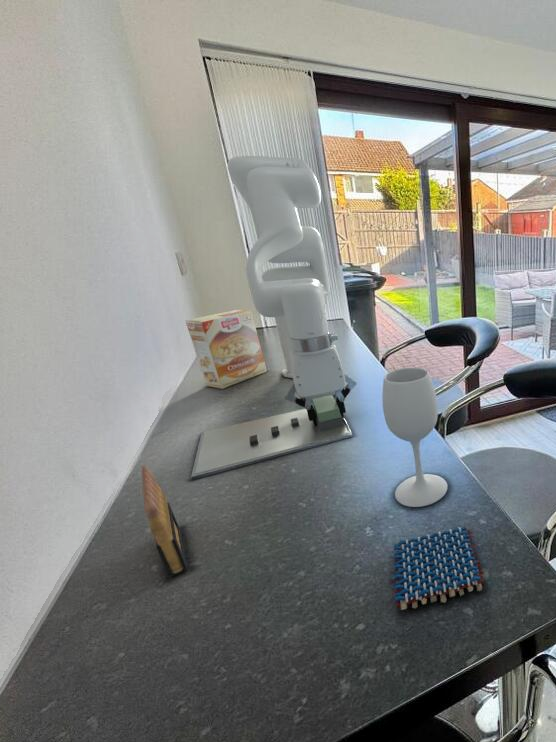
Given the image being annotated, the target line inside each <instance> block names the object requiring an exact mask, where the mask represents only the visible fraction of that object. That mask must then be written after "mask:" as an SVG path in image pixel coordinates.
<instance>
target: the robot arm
mask: <svg viewBox="0 0 556 742" xmlns="http://www.w3.org/2000/svg"><path fill="white" fill-rule="evenodd" d="M227 171H228V174H229V176H230V179H231V181H232V183H233V185H234V187H235V189H236V190H237V191H238V193H239V194H240V195H241V197H242V199H243V200H244V201H245V203H246V205H247V207H248V209H249V211H250V213H251V218H252V221H253V226H254V231H255V234H256V238H257V240H256V242H254V244H253V245H252V247H251V249H250V250H249V253H248V256H247V259H246V263H245V273H246V278H247V283H248V287H249V290H250V295H251V300H252V302H253V305H254V308H255V310H256V311H257V312H258V313H259V315H261V316H263V317H265V318H273V319H274V320H275V321H274V323H275V326H276V330H277V334H278V338H279V342H280V346H281V350H282V355H283V359H284V363H285V367H284V368H283V369H282V370H281V374H282V376H283V377H285V378H288V379H292V381H293V382H292V383H291V385H290V386H289V388H288V389H287V392H286V393H285V394H284V399H285V400H286V401H288V402H291V403H294V404H296V405H298V406H300V407H302V408H303V409H306V410H307V413H308V418H309V421H313V423H314V425H317V420H316V415H315V411H314V406H313V402H312V396H315V395H320V394H325V393H329V392H335V394H336V395H335V396H336V399H335V402H336V404H337V406H338V408H339V411H340V414H341V416H342V418H345V415H344V414H346V413H347V410H346V406H345V401H346V398H347V397H348V395H349V394H350V393H351V391H353V389H354V388H355V387H356V386H357V382H356V380H355V379H354V378H352V377H350V375H348V373H347V374H346V373H345V372H344V368H343V365H342V361H341V358H340V355H339V352H338V350H337V347H336V345H335V344H333V343H334V342H335V341H339V337H338V334H337V333H334V334H333V333H331V332H330V331H329V324H328V319H327V314H326V310H325V306H326V304H327V303H328V297H327V296H328V295H329V294H330V293H331V281H330V275H329V270H328V264H327V258H326V251H325V246H324V242H323V239H322V236H321V234H320V232H319V231H318V230H317V229H316V228H315V227H312V226H307V225H305V226H302V224H301V220H300V217H299V214H298V211H297V209H316V208H318V207H319V206H320V204H321V201H322V193H321V188H320V183H319V182H318V179H317V176H316V175H315V173H314V171H313V169H312V168H311V167H310V166H309V165H308V163H307V162H306V161H305V160H303V159H301V158H295V157H277V156H265V155H264V156H263V155H239V156H234V157H231V158H230V159H229V160H228V162H227ZM267 263H271V264H292V263H293V264H294V263H308V264H309V265H293V266H291V265H290V266H279V267H273V268H269V269H267V270H265V271H264V272H263V273H262V270H263V268H264V266H265V264H267ZM295 394H297V395H295Z"/></svg>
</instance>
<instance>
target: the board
mask: <svg viewBox="0 0 556 742" xmlns="http://www.w3.org/2000/svg"><path fill="white" fill-rule="evenodd" d="M294 418H298V422H299V426H295V427H292V424H291V419H294ZM343 422H344V425H342V426H338V427H334V428H330V429H326V430H322V431H320V430H319V427H318V424H317V425H314V423H313V421H309V418H308V413H307V410H306V409H305V408H302V409H297V410H293V411H288V412H284V413H279V414H275V415H271V416H266V417H261V418H257V419H253V420H249V421H244V422H239V423H235V424H231V425H227V426H226V425H225V426H222V427H218V428H213V429H208V430H204V431H201V434H200V438H199V442H198V447H197V450H196V454H195V459H194V462H193V467H192V472H191V475H190V478H191V480H193V481H194V480H197V479H200V478H205V477H207V476H212V475H216V474H219V473H223V472H226V471H230V470H233V469H237V468H241V467H245V466H249V465H252V464H256V463H260V462H263V461H268V460H271V459H275V458H279V457H282V456H286V455H290V454H293V453H296V452H301V451H305V450H309V449H311V448H315V447H319V446H323V445H327V444H330V443H334V442H337V441H341V440H346V439H348V438H353V437H354V436H353V432H352V430H351V428H350V427H349V424H348V422H347V420H346V419H345V417H344V418H343ZM275 426H278V427H279V433H280V434H278V435H274V436H272V433H271V427H275ZM254 435H257V436H258V444H254V445H250V436H254Z"/></svg>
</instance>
